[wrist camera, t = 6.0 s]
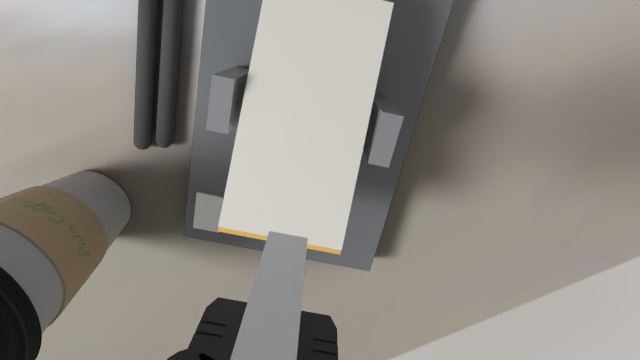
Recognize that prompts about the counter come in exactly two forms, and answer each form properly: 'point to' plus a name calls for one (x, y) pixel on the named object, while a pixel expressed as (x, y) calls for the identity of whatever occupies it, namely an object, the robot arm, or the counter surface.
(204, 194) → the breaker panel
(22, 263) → the coffee cup
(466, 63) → the counter surface
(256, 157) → the plate
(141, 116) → the cords
